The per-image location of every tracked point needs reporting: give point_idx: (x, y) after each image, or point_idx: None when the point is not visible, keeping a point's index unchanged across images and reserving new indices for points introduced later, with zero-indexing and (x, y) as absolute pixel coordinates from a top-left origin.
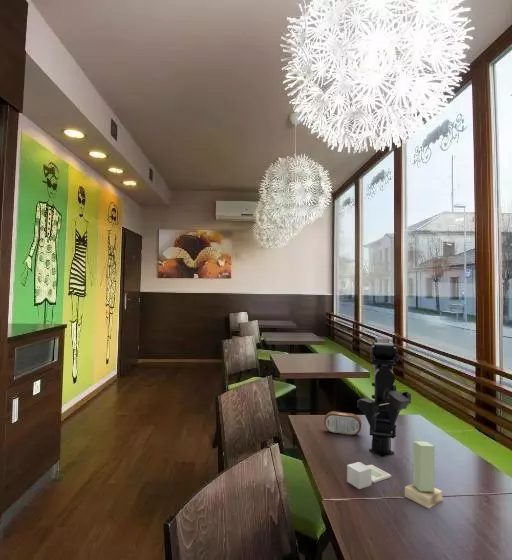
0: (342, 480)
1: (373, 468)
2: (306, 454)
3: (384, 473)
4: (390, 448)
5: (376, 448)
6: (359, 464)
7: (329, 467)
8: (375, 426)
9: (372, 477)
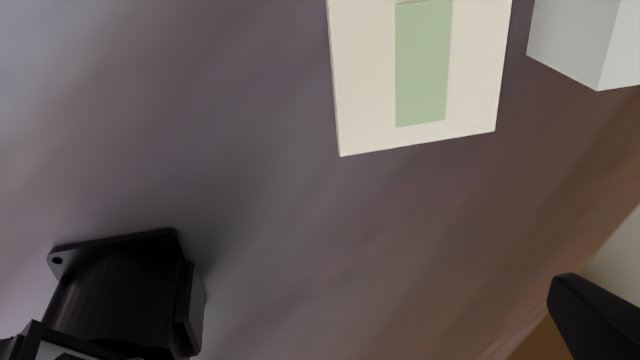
0: None
1: (370, 107)
2: (535, 322)
3: (356, 20)
4: (60, 287)
5: (193, 287)
6: (638, 49)
7: (557, 201)
8: (622, 321)
9: (481, 2)
